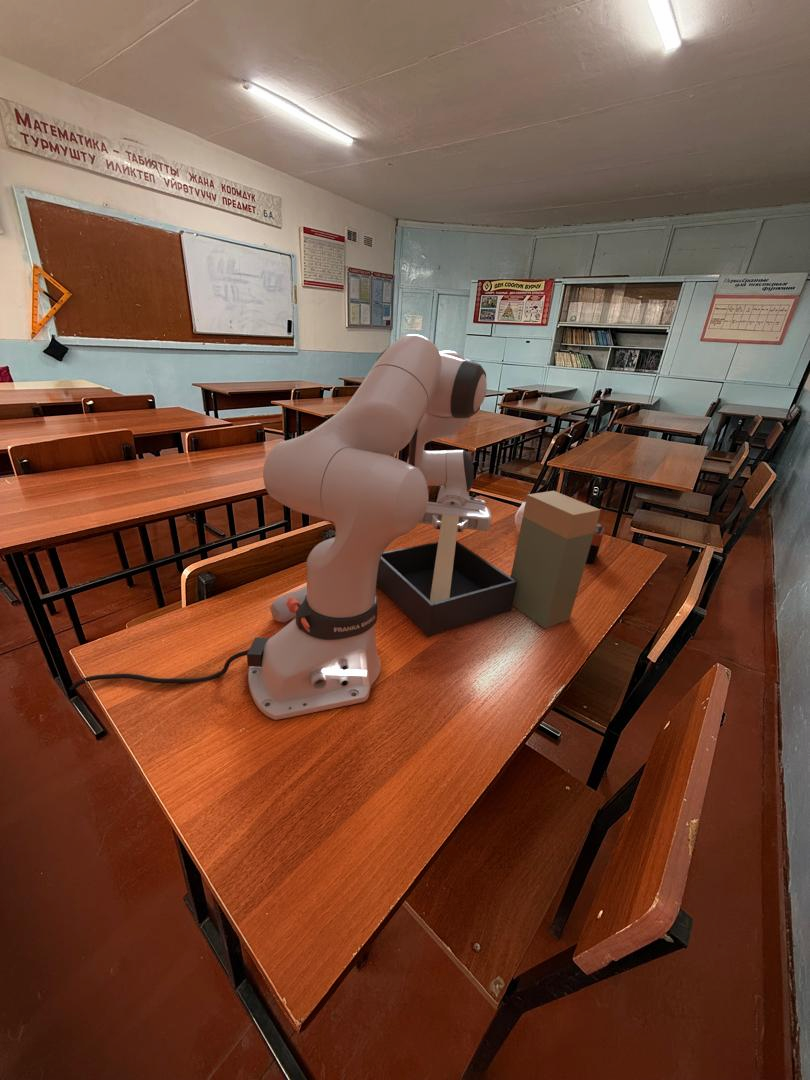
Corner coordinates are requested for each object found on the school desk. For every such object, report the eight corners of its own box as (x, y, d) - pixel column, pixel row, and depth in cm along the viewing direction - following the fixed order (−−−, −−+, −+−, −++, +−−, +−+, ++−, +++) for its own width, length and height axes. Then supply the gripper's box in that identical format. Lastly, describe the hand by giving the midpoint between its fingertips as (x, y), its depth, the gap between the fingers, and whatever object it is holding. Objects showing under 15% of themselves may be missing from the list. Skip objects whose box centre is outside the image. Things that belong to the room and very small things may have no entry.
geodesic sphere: (557, 541, 120) (570, 493, 122) (506, 529, 125) (520, 483, 127) (556, 554, 133) (568, 511, 136) (510, 542, 139) (522, 501, 141)
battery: (597, 556, 127) (606, 524, 123) (593, 564, 122) (602, 532, 117) (581, 551, 129) (590, 520, 125) (577, 560, 123) (586, 528, 119)
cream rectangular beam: (428, 611, 94) (429, 603, 91) (441, 524, 108) (442, 514, 104) (447, 614, 93) (448, 605, 90) (457, 526, 107) (459, 516, 104)
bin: (427, 637, 87) (431, 605, 83) (373, 581, 105) (375, 553, 101) (511, 610, 98) (517, 581, 94) (449, 564, 116) (453, 538, 112)
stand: (544, 628, 92) (573, 514, 81) (505, 600, 101) (527, 494, 90) (569, 619, 96) (600, 509, 85) (530, 592, 105) (553, 490, 94)
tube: (281, 614, 83) (378, 573, 100) (266, 596, 85) (364, 558, 102) (277, 632, 86) (372, 589, 103) (264, 613, 89) (358, 574, 105)
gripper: (414, 492, 116) (407, 510, 103) (491, 501, 114) (493, 520, 101) (412, 514, 119) (405, 534, 106) (487, 523, 117) (489, 545, 104)
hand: (449, 527), depth 104 cm, fingers closed on cream rectangular beam, 4 cm apart
